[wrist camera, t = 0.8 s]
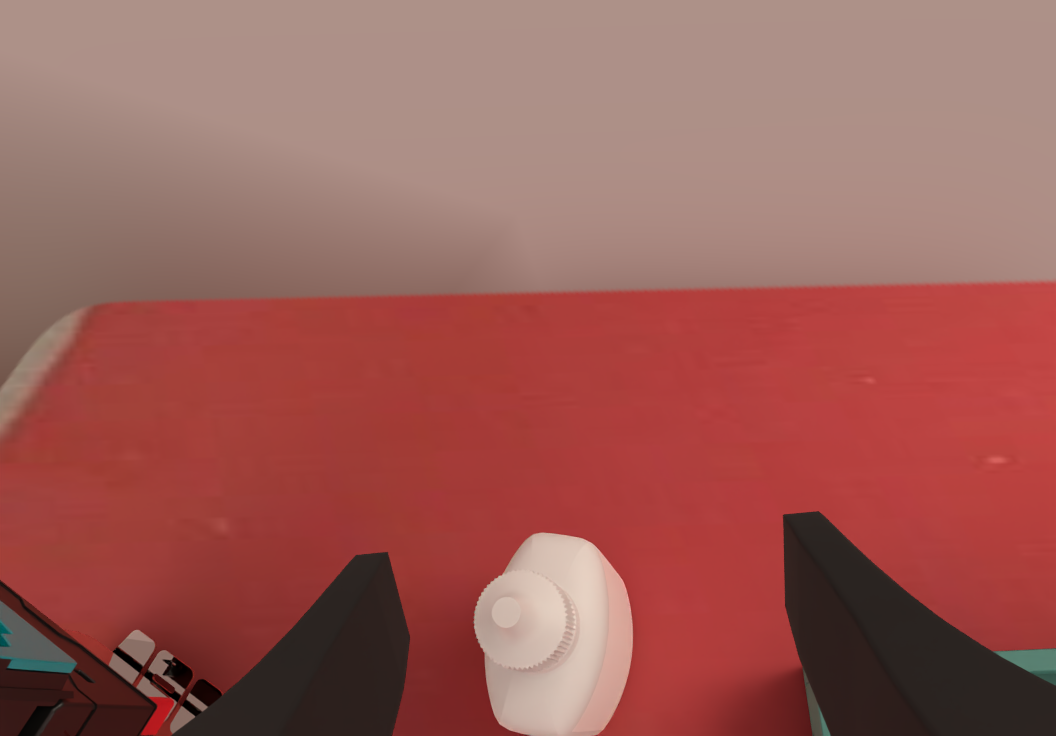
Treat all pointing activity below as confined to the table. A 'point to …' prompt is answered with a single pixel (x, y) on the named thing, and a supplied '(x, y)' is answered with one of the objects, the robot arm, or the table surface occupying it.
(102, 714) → the bill acceptor
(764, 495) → the table surface
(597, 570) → the eye dropper bottle
